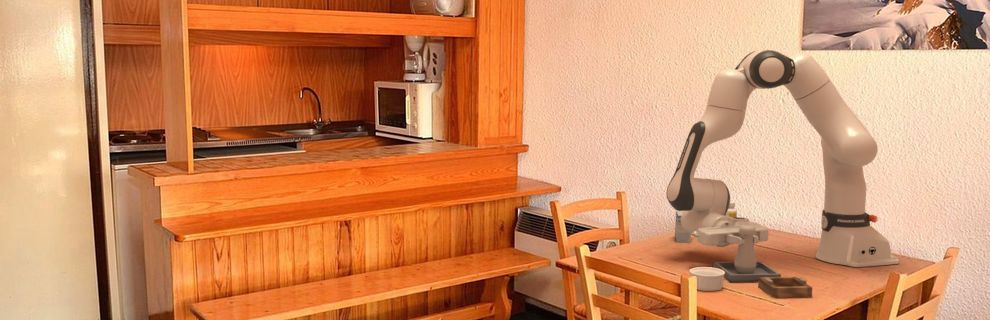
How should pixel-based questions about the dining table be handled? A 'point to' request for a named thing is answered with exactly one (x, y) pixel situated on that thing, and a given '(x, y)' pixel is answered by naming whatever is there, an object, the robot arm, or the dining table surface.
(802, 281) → the tray
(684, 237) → the medicine box
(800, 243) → the dining table surface
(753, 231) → the salt shaker
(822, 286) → the dining table surface
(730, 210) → the supplement bottle
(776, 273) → the tray
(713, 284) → the ramekin
